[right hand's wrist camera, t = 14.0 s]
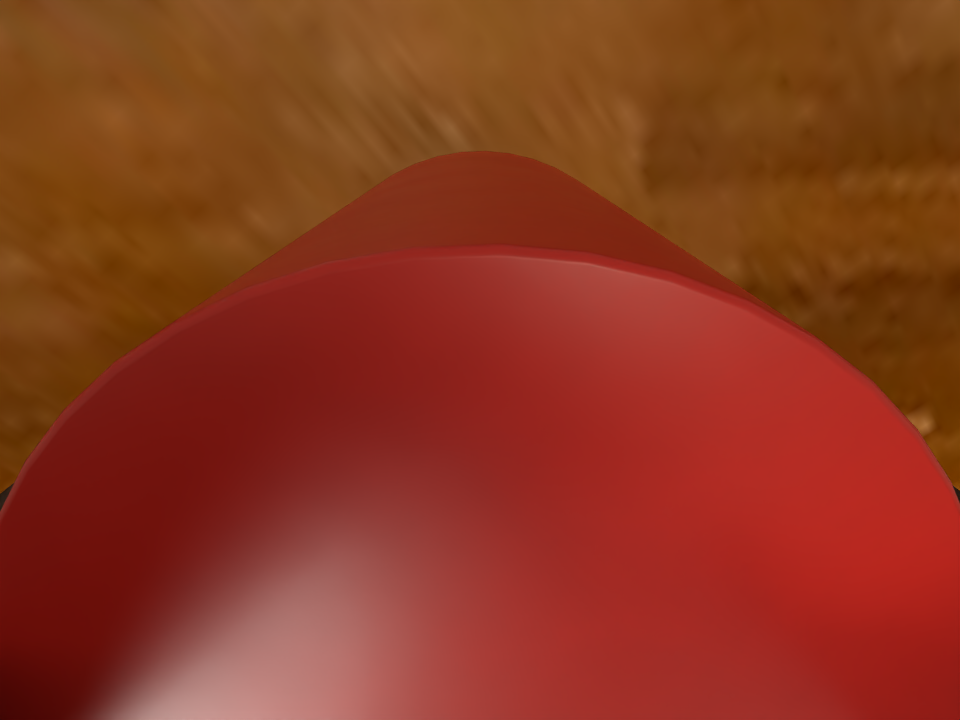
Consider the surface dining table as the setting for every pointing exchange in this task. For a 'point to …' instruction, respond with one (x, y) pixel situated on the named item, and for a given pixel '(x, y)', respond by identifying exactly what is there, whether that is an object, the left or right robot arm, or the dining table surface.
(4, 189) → the dining table surface
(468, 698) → the canister
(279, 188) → the dining table surface
